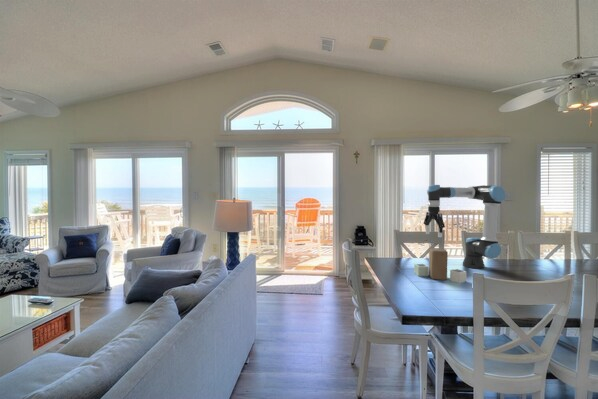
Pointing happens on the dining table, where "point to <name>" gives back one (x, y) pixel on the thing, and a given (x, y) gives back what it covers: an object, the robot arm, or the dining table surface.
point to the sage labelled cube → (420, 269)
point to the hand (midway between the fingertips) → (433, 235)
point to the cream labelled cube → (458, 275)
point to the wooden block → (438, 263)
